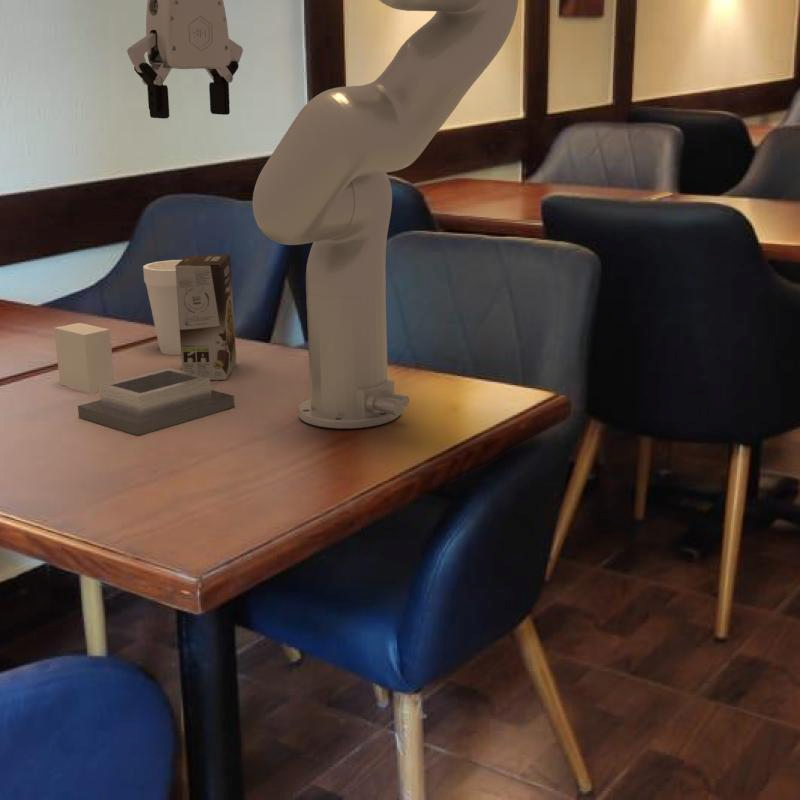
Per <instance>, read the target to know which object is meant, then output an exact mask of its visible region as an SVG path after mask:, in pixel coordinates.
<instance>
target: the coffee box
mask: <svg viewBox="0 0 800 800" xmlns="http://www.w3.org/2000/svg"><path fill="white" fill-rule="evenodd" d="M181 260H182V261H181V262H179V263H178V264H177V265H176V266H175V267H176V282H177V297H178V314H179V328H180V343H181V355H180V358H181V370H182V371H186V372H190V373H194V374H198V375H202V376H206V377H210V381H226V380H228V378H229V376H230V375H231V373H233V372H232V371H233V370H234V369H235V367H236V365H237V348H236V346H237V345H236V333H235V332H236V331H235V329H236V328H235V317H234V301H233V299H234V298H233V284H232V281H233V279H232V268H231V267H232V266H231V264H232V263H231V254H227V253H226V254H201V255H186V256H185V257H184V258H183V259H181Z"/></svg>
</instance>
